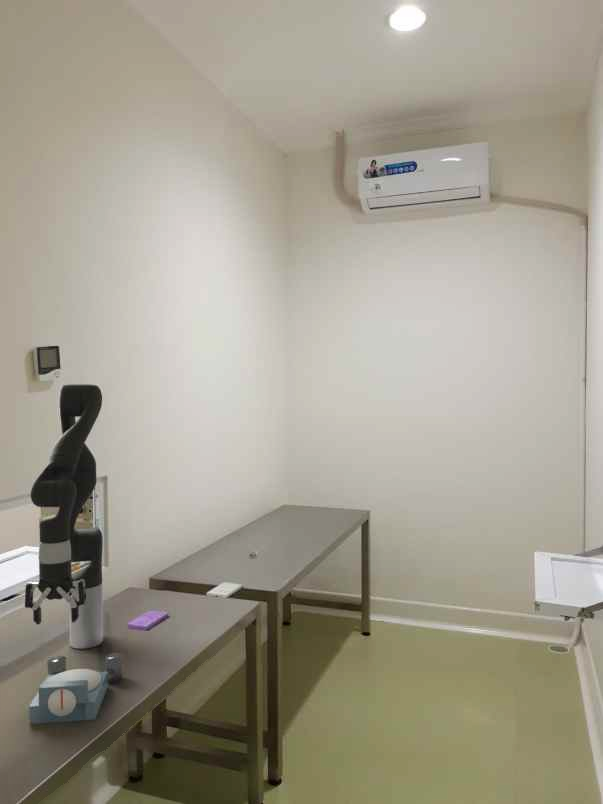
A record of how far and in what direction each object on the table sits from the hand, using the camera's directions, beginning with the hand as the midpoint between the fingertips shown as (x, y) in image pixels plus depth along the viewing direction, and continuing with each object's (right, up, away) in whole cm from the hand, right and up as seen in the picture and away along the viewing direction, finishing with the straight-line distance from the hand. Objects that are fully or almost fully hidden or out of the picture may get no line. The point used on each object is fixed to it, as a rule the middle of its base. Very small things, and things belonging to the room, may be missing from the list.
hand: (56, 622), depth 156 cm
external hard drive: (+34, -14, +70) cm, 79 cm away
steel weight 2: (+14, -15, +2) cm, 21 cm away
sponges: (+13, -15, +41) cm, 45 cm away
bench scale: (+7, -16, -10) cm, 20 cm away
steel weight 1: (0, -16, 0) cm, 16 cm away
